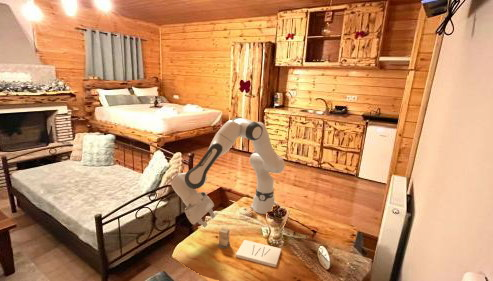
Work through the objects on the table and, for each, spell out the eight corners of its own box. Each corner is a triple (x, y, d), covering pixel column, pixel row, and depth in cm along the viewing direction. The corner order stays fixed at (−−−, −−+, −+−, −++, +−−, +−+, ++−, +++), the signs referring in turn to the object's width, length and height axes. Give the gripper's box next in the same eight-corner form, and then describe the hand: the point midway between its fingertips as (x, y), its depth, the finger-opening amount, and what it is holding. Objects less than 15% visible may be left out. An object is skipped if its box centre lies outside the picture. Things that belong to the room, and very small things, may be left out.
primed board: (244, 242, 137) (244, 239, 137) (281, 251, 131) (281, 248, 131) (235, 256, 125) (235, 254, 125) (275, 267, 119) (276, 264, 119)
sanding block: (221, 241, 137) (222, 226, 135) (229, 243, 135) (230, 228, 134) (218, 246, 132) (218, 231, 131) (226, 248, 131) (226, 233, 129)
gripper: (187, 206, 124) (204, 228, 123) (206, 190, 143) (222, 210, 142) (179, 212, 126) (196, 235, 125) (199, 196, 145) (214, 216, 145)
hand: (210, 221), depth 134 cm, fingers open, 8 cm apart
